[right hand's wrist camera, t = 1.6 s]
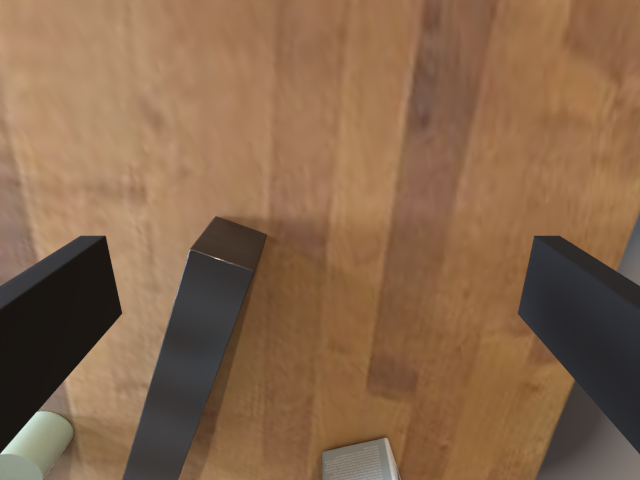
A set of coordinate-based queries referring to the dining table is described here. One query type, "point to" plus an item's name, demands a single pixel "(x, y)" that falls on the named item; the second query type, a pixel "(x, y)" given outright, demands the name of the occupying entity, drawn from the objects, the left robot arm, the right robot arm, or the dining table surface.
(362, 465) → the hard drive box
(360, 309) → the dining table surface
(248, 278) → the plank
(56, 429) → the mint green cylinder
